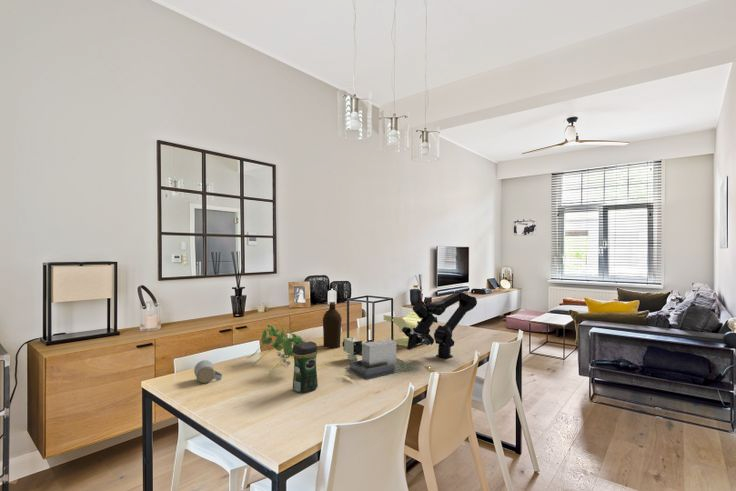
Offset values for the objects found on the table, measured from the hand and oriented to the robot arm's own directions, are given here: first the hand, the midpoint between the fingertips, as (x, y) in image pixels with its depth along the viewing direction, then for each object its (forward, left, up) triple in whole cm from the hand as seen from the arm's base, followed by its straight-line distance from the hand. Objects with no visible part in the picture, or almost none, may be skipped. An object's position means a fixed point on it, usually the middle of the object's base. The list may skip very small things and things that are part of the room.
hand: (408, 349), depth 179 cm
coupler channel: (+15, -2, -7) cm, 17 cm away
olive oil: (+10, -50, -8) cm, 51 cm away
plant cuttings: (+51, -37, -8) cm, 63 cm away
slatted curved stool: (-29, -26, -8) cm, 40 cm away
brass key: (0, +13, -7) cm, 15 cm away
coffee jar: (+55, -6, -8) cm, 55 cm away
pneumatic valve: (+18, -21, -8) cm, 28 cm away
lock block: (+17, -2, -6) cm, 18 cm away
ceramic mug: (+81, -40, -8) cm, 90 cm away
